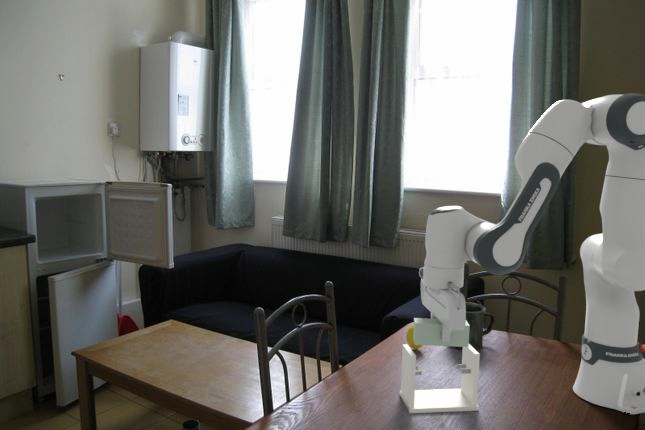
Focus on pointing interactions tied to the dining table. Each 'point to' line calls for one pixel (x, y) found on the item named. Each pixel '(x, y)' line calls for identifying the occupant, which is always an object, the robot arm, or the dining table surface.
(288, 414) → the dining table surface
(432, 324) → the shelf board
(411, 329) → the lemon
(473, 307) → the mug
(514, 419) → the dining table surface
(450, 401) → the shelf unit
